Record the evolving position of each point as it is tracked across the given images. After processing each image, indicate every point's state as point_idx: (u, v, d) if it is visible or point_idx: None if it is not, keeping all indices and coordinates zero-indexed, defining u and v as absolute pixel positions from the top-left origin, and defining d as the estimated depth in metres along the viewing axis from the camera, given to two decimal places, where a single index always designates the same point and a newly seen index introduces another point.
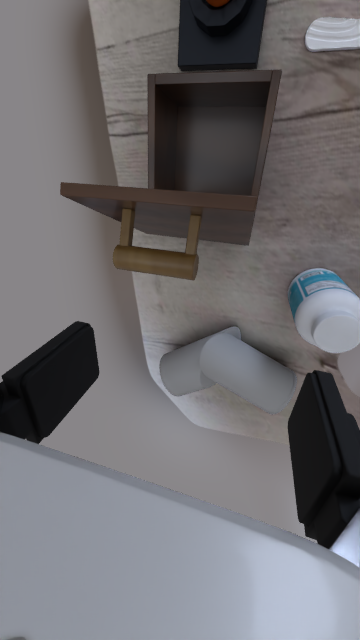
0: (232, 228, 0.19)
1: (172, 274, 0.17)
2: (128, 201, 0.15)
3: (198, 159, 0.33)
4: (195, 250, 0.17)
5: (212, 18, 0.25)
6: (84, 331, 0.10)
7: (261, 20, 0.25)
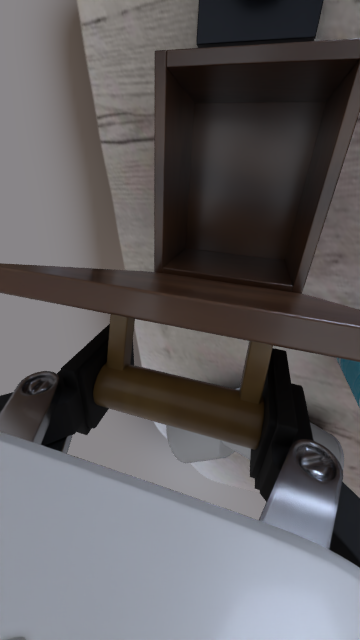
0: None
1: (212, 437, 0.09)
2: None
3: (221, 175, 0.24)
4: None
5: None
6: None
7: None
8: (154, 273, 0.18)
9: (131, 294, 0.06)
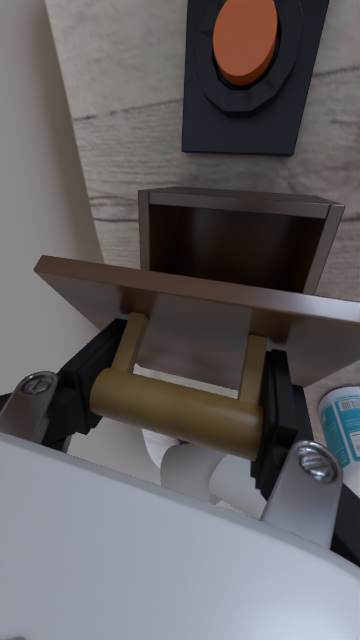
0: (295, 370, 0.12)
1: (211, 443, 0.08)
2: (151, 293, 0.09)
3: (208, 258, 0.25)
4: (258, 397, 0.09)
5: (232, 102, 0.17)
6: (125, 327, 0.11)
7: (303, 101, 0.17)
8: None
9: (164, 276, 0.09)
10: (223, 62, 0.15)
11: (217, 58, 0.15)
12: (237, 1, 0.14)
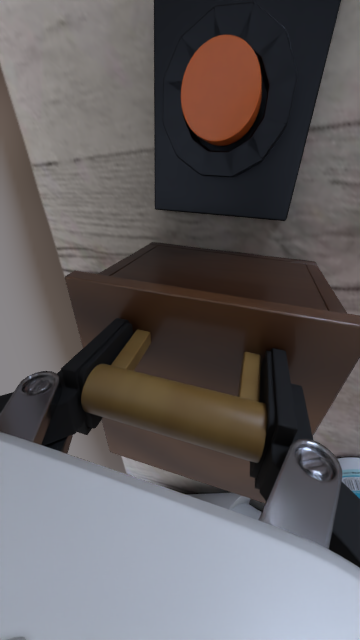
0: None
1: (213, 429, 0.07)
2: (165, 297, 0.10)
3: None
4: None
5: (210, 165, 0.14)
6: (125, 327, 0.11)
7: (297, 162, 0.14)
8: None
9: (177, 287, 0.11)
10: (194, 124, 0.12)
11: (187, 119, 0.12)
12: (209, 53, 0.11)
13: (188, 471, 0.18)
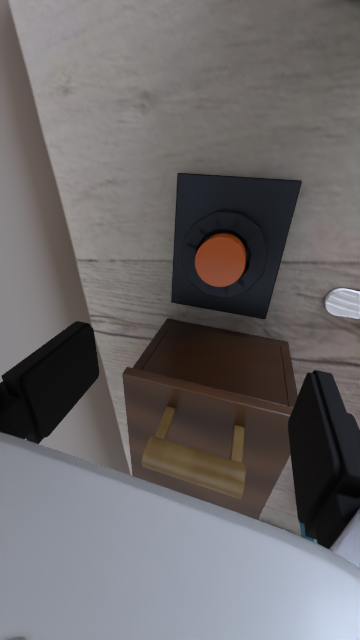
0: (262, 463, 0.19)
1: (217, 481, 0.14)
2: (186, 392, 0.17)
3: None
4: (241, 459, 0.15)
5: (212, 290, 0.20)
6: (84, 331, 0.10)
7: (272, 286, 0.21)
8: None
9: (193, 384, 0.17)
10: (203, 276, 0.18)
11: (198, 273, 0.18)
12: (213, 244, 0.17)
13: (194, 497, 0.24)
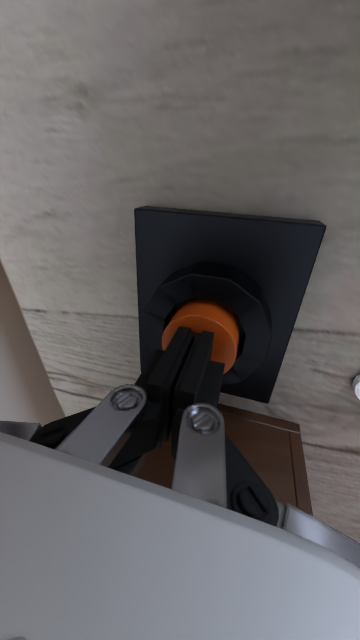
0: None
1: None
2: None
3: None
4: None
5: None
6: (191, 336, 0.11)
7: (278, 365, 0.14)
8: None
9: None
10: None
11: None
12: (187, 324, 0.11)
13: None
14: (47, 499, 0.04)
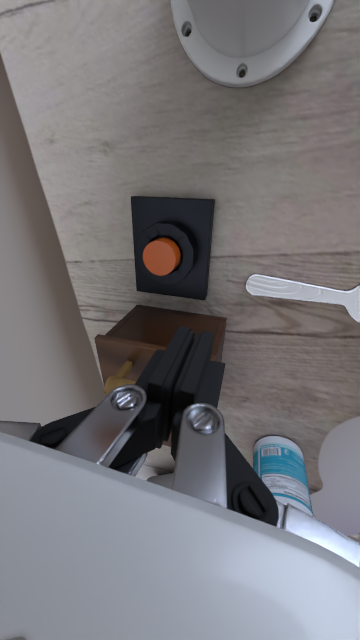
0: None
1: None
2: (137, 347, 0.25)
3: None
4: None
5: (161, 279, 0.28)
6: (191, 336, 0.11)
7: (205, 274, 0.28)
8: None
9: (142, 343, 0.25)
10: (150, 268, 0.26)
11: (146, 266, 0.26)
12: (153, 245, 0.25)
13: None
14: (47, 499, 0.04)
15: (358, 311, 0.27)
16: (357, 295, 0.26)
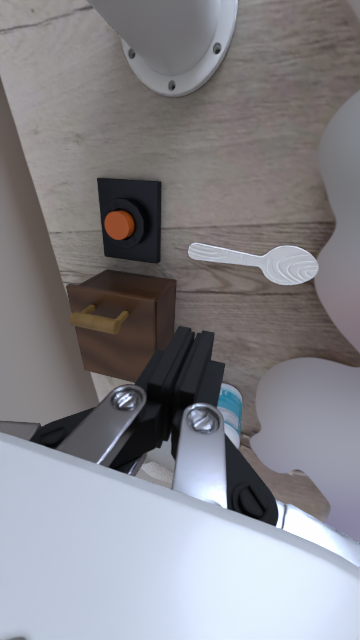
0: (143, 336, 0.34)
1: (102, 324, 0.29)
2: (97, 292, 0.32)
3: None
4: (120, 320, 0.31)
5: (120, 244, 0.36)
6: (191, 336, 0.11)
7: (156, 242, 0.36)
8: None
9: None
10: (110, 234, 0.34)
11: (107, 232, 0.34)
12: (111, 215, 0.33)
13: (119, 374, 0.40)
14: (47, 499, 0.04)
15: (270, 272, 0.35)
16: (268, 259, 0.34)
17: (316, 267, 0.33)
